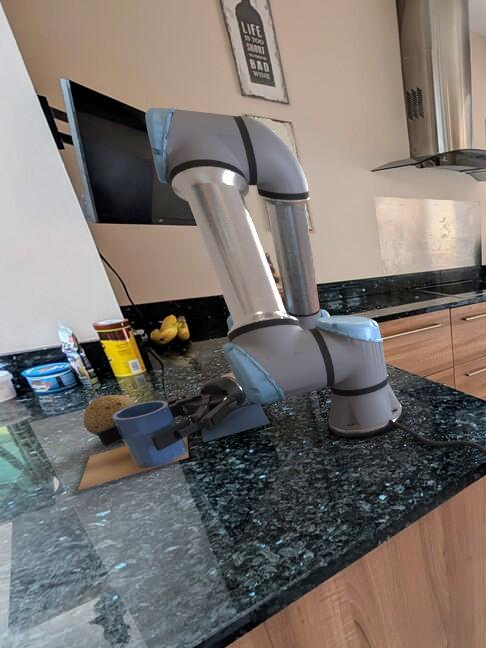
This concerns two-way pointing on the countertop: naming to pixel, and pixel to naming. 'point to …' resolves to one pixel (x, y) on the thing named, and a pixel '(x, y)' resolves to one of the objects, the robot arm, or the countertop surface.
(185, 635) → the countertop surface
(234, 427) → the blue mat
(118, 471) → the cork mat
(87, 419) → the brown potato
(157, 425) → the blue cup
